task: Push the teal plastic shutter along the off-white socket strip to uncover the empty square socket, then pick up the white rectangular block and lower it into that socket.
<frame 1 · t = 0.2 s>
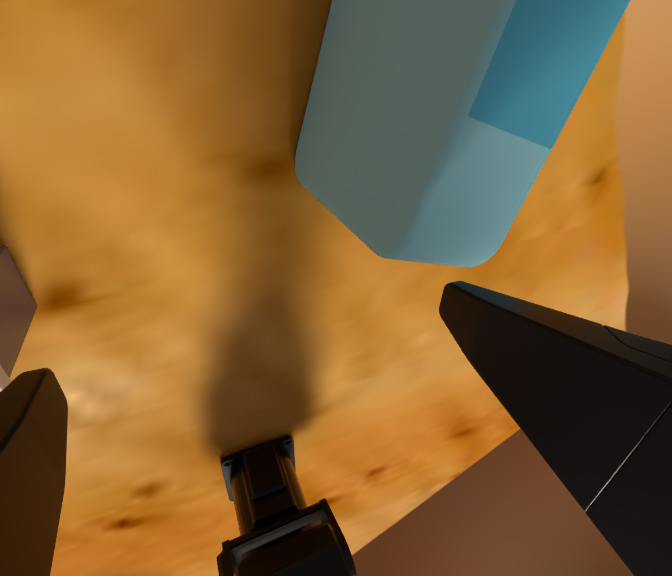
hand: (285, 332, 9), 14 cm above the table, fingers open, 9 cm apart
data package: (351, 74, 20), on the table
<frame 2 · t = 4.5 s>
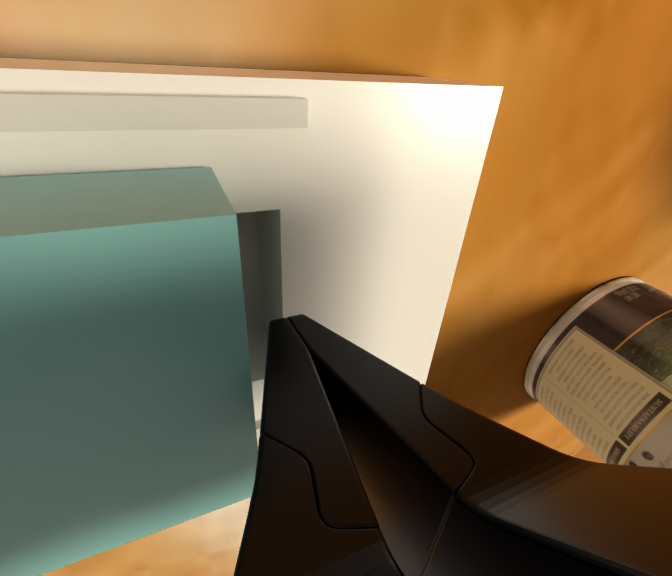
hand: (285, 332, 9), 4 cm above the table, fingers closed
coffee can: (580, 340, 25), on the table
shutter: (90, 382, 7), point 4 cm above the table, slide at 1.6 cm, touching gripper
socket strip: (47, 279, 10), on the table
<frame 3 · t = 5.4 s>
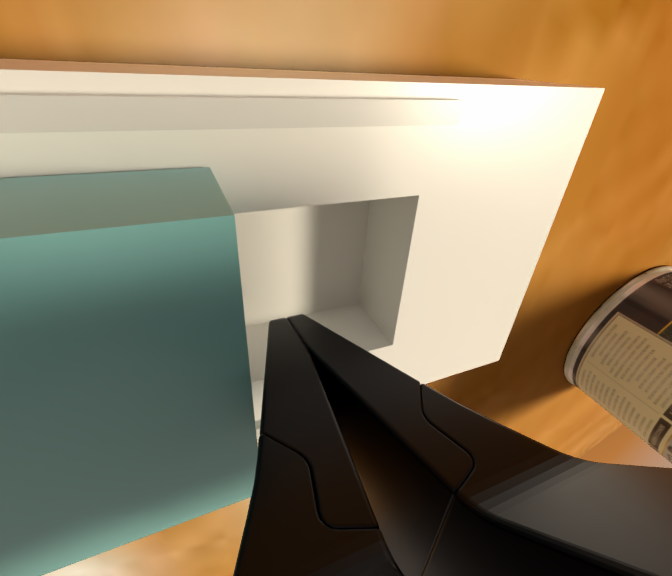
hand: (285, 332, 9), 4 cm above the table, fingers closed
coffee can: (616, 327, 26), on the table
shutter: (90, 383, 7), point 4 cm above the table, slide at 5.3 cm, touching gripper
socket strip: (193, 259, 11), on the table
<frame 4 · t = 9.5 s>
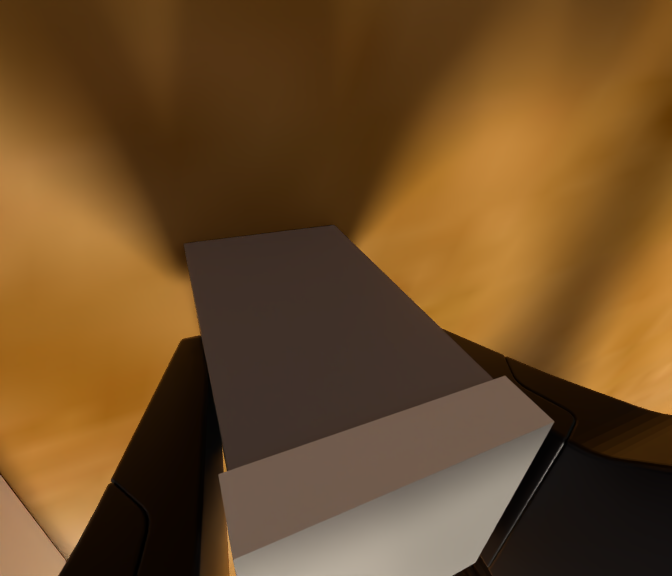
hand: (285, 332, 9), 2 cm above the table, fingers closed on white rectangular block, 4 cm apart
white rectangular block: (268, 296, 10), on the table, touching gripper
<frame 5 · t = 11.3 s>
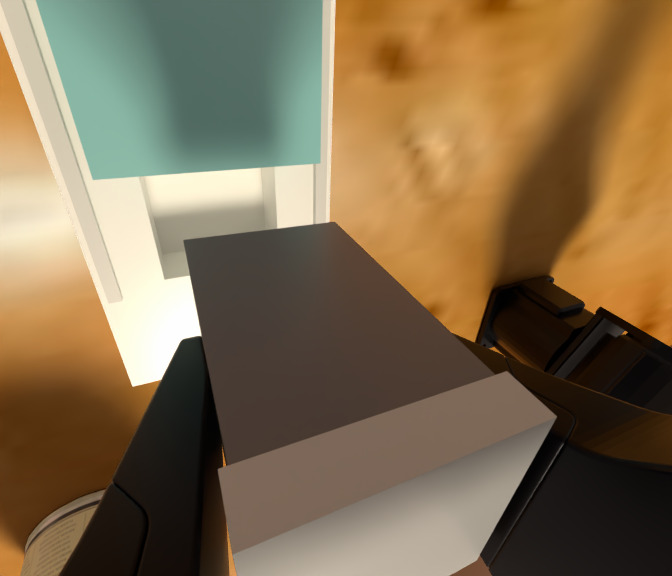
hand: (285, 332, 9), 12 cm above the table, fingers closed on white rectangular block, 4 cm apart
coffee can: (114, 526, 27), on the table
shutter: (200, 68, 11), point 4 cm above the table, slide at 5.3 cm
white rectangular block: (268, 293, 10), point 10 cm above the table, touching gripper
socket strip: (197, 125, 16), on the table
when the fingers open (3 cm above the table, at t = 13.1 s): white rectangular block drops 1 cm, resting on socket strip.
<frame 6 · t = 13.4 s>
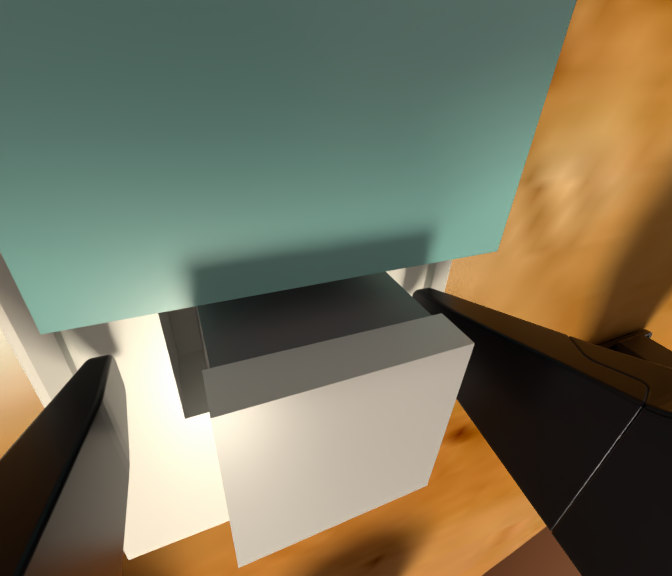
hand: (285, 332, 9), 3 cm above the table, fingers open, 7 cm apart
shutter: (292, 66, 5), point 4 cm above the table, slide at 5.3 cm
white rectangular block: (255, 268, 11), resting on socket strip
socket strip: (242, 161, 10), on the table
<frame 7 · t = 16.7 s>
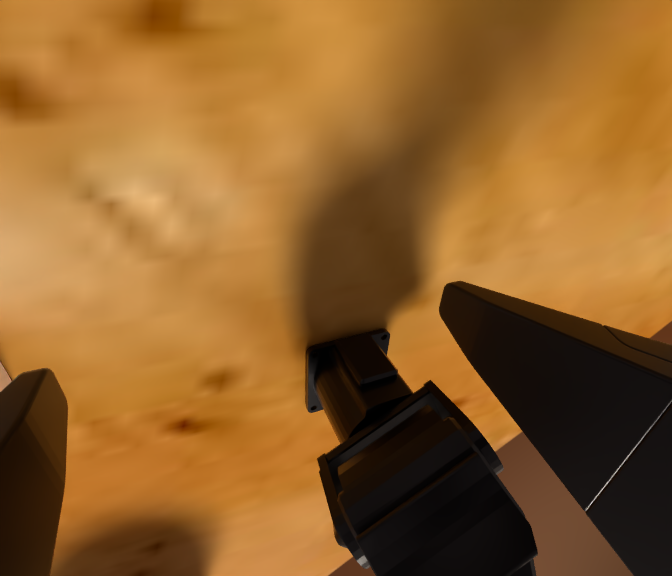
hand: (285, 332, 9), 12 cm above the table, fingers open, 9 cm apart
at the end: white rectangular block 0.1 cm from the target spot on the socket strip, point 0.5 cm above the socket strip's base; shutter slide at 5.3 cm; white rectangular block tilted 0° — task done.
